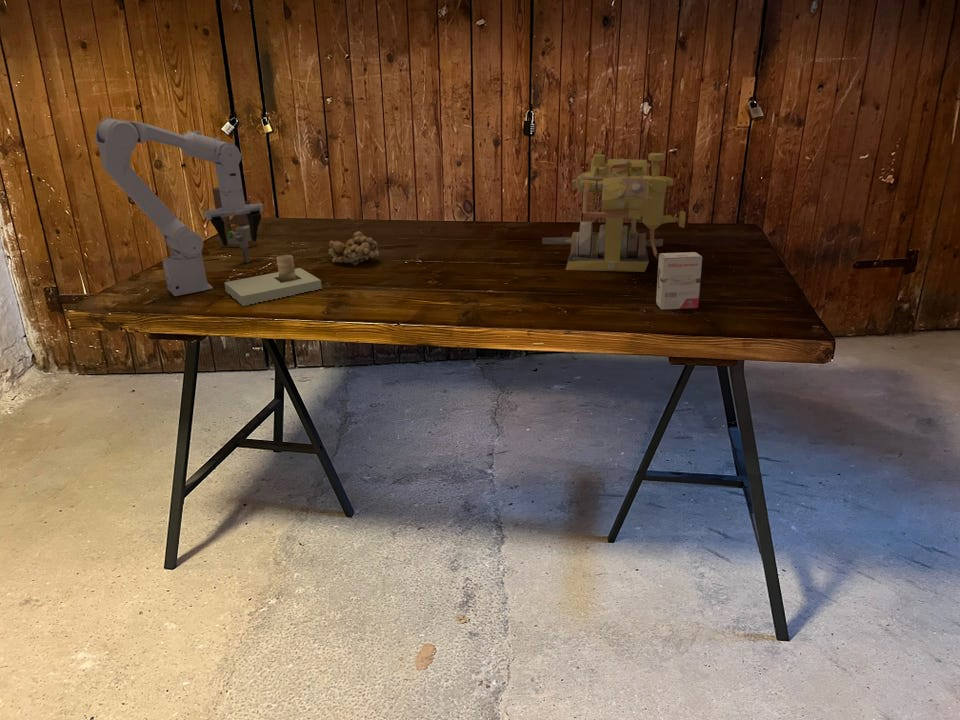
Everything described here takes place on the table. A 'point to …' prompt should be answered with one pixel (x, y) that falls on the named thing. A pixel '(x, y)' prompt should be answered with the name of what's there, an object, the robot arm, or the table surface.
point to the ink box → (678, 280)
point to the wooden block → (236, 219)
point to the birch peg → (286, 268)
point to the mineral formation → (354, 249)
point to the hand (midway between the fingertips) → (239, 242)
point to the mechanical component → (241, 240)
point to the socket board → (270, 287)
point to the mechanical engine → (619, 215)
